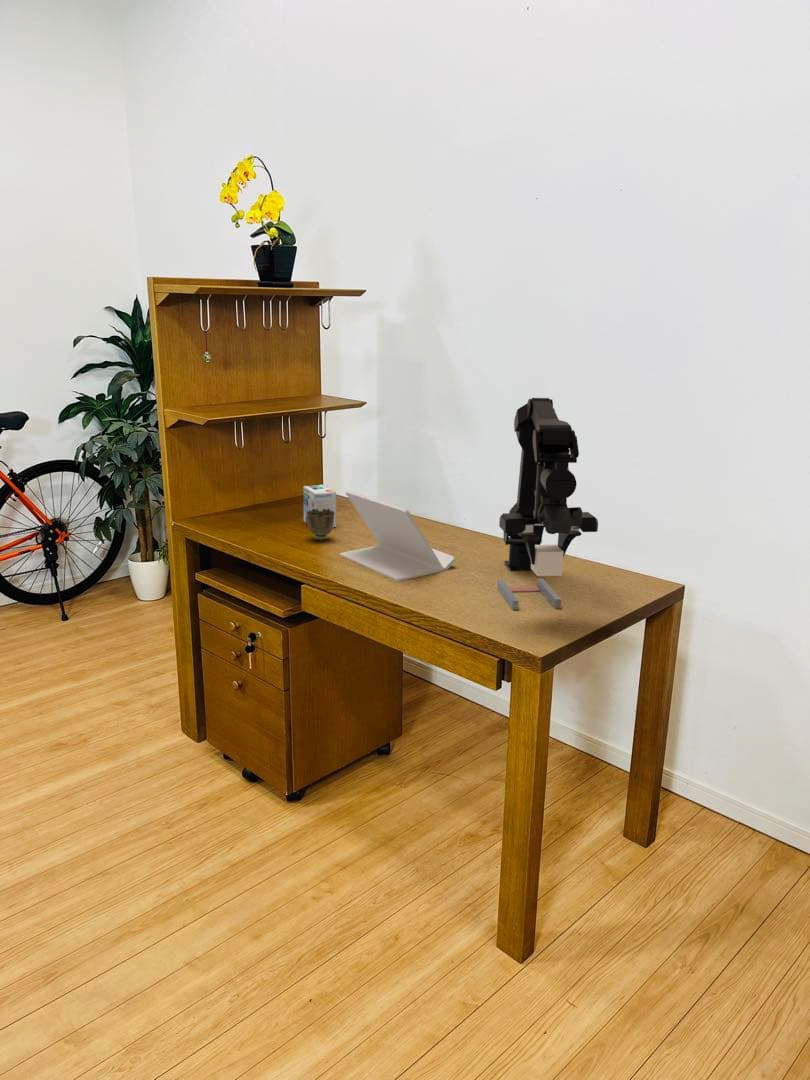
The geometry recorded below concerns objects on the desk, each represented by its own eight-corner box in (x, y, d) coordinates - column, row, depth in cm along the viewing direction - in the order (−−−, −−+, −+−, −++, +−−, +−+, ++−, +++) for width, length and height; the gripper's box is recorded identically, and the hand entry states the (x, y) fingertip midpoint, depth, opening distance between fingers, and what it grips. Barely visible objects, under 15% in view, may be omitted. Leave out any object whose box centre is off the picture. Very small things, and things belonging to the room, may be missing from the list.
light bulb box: (302, 521, 241) (302, 485, 238) (324, 519, 243) (324, 484, 240) (314, 530, 231) (314, 493, 228) (337, 528, 234) (336, 491, 231)
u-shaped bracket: (497, 588, 185) (497, 579, 185) (542, 586, 187) (542, 578, 186) (512, 609, 172) (512, 601, 172) (560, 608, 173) (561, 599, 173)
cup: (335, 536, 226) (335, 507, 223) (334, 543, 219) (333, 514, 216) (308, 536, 225) (307, 507, 223) (306, 543, 218) (305, 514, 216)
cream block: (530, 568, 167) (532, 545, 166) (554, 567, 168) (556, 544, 166) (537, 576, 162) (538, 552, 161) (561, 575, 163) (563, 551, 162)
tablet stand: (397, 582, 189) (398, 510, 185) (338, 556, 208) (337, 491, 204) (456, 568, 200) (459, 500, 195) (395, 545, 219) (396, 482, 214)
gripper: (514, 497, 152) (510, 577, 156) (611, 496, 154) (604, 575, 159) (500, 485, 163) (497, 560, 167) (591, 484, 165) (585, 558, 169)
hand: (545, 563), depth 165 cm, fingers closed on cream block, 5 cm apart
